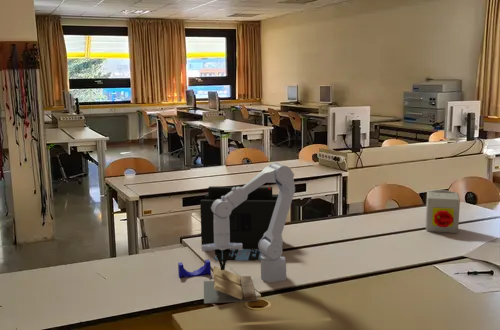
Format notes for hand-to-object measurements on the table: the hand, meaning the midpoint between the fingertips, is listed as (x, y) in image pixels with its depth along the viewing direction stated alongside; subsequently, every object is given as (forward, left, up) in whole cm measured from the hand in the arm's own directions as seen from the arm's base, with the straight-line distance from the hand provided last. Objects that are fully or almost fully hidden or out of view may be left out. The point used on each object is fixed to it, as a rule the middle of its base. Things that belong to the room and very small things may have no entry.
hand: (222, 269), depth 193 cm
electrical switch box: (-109, -58, -7) cm, 124 cm away
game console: (-9, -43, -7) cm, 45 cm away
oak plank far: (-1, 0, -4) cm, 4 cm away
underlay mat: (-2, +5, -7) cm, 9 cm away
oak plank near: (-1, +10, -4) cm, 11 cm away
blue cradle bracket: (+11, -13, -7) cm, 18 cm away
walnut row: (-9, +5, -6) cm, 12 cm away
